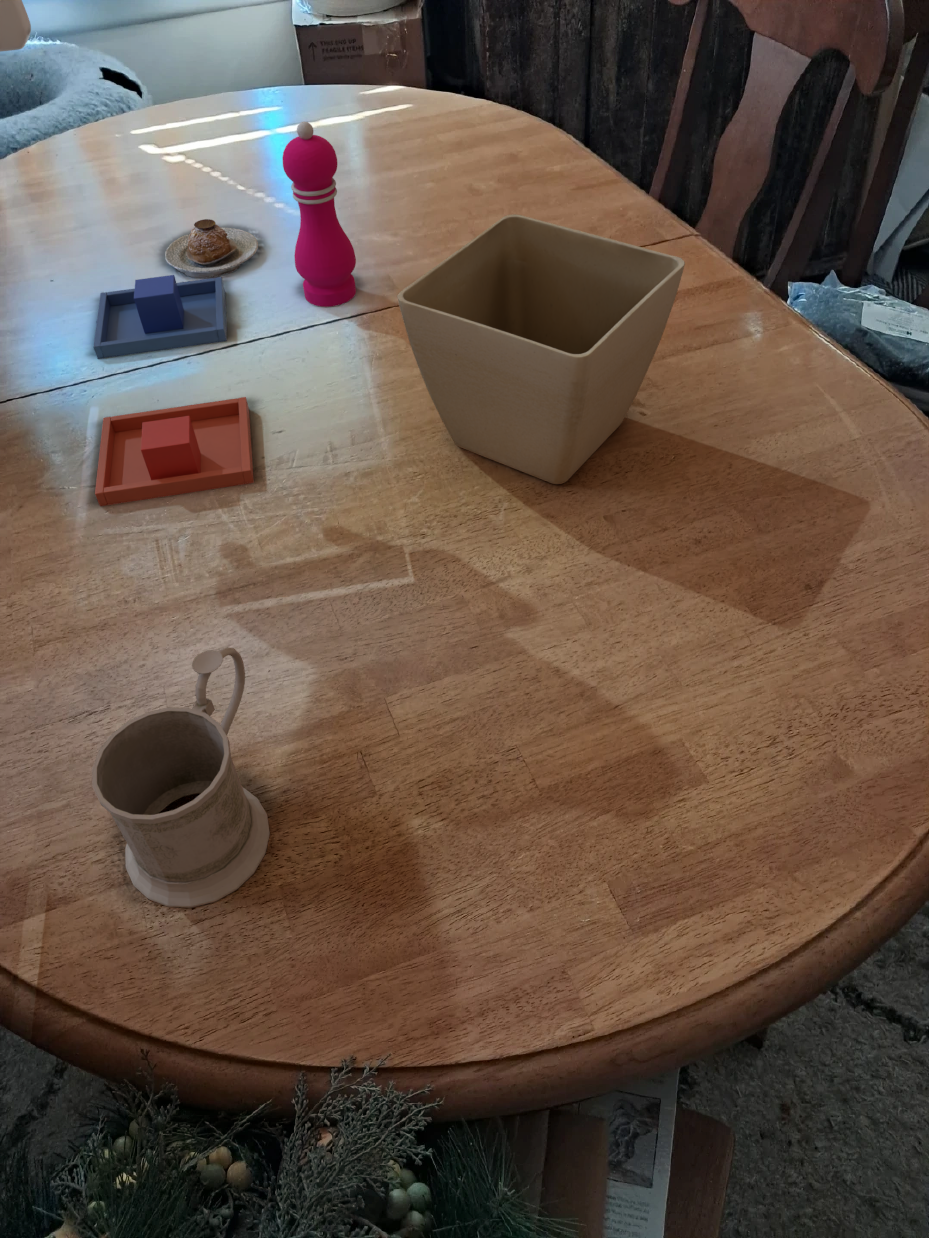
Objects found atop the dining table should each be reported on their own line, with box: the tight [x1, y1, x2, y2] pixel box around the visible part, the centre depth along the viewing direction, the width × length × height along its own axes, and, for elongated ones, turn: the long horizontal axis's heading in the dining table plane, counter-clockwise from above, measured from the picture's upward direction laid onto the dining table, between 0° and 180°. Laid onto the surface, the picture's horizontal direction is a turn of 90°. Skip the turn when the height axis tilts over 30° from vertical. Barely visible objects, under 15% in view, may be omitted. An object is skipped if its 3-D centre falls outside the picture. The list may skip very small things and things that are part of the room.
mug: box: [91, 646, 271, 909], centre depth 66 cm, size 14×10×12 cm
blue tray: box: [92, 276, 228, 360], centre depth 117 cm, size 15×13×2 cm
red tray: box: [94, 396, 255, 507], centre depth 98 cm, size 15×13×2 cm
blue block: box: [134, 274, 184, 334], centre depth 115 cm, size 4×4×4 cm
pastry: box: [164, 218, 259, 279], centre depth 127 cm, size 12×12×5 cm
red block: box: [141, 416, 201, 480], centre depth 95 cm, size 4×4×4 cm
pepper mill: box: [282, 121, 357, 308], centre depth 113 cm, size 7×7×20 cm
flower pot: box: [396, 213, 686, 485], centre depth 93 cm, size 19×19×17 cm
